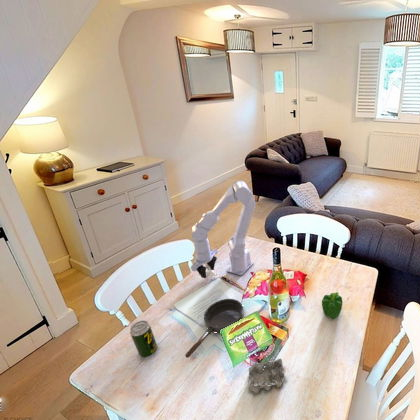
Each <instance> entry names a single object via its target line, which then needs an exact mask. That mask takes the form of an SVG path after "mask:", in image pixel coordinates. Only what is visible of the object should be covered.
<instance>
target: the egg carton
mask: <svg viewBox="0 0 420 420" xmlns="http://www.w3.org/2000/svg"><path fill="white" fill-rule="evenodd" d="M264 366H266V367H265V368H264ZM263 369H264V370H263ZM284 382H285V371H284V365H283V360H282V358H278V359H275V360H268V361H263V362H259V363H258V362H257V363H254V364H252V365H251V366H250V367H249V368H248V384H249V388H250V389H249V390H250V391H251V392H254V394H258V393H259V392H260V390H262V389H265V390H266V391H269V390H271V387H272V386H276V387H277V388H281V387H282V385H283V384H284Z"/></svg>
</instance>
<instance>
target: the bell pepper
mask: <svg viewBox="0 0 420 420" xmlns="http://www.w3.org/2000/svg"><path fill="white" fill-rule="evenodd" d="M321 309H322V311H323V315H324V316H325V317H328V318H329V319H330V320H335V319H337V318H338V317H339V316H340V313H341V311H342V309H343V297H342V296H341V295H339V292H338V291H336V292H332V293H330V294H324V296H323V297H322V300H321Z"/></svg>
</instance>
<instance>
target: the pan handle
mask: <svg viewBox="0 0 420 420" xmlns="http://www.w3.org/2000/svg"><path fill="white" fill-rule="evenodd" d="M212 332H213V328H211V327H209V328H208V329H206V330H205V332H203V334H202V335H201V337H199V339H198V340H197V341H196V342H195V343H194V344H193V345H192V346H191V347H190V349H188V351H187V352H186V353H185V355H184V356H185V358H186V359H188V358H191V356H193V354H194V353H195V352H196V350H197V349H198V348H199V347H200V346H201V345H202V344H203V342H204V341H205V340H206V339H207V338H208V337H209V336H210V335H211V334H212Z"/></svg>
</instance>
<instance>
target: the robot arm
mask: <svg viewBox="0 0 420 420" xmlns="http://www.w3.org/2000/svg"><path fill="white" fill-rule="evenodd" d="M238 201H239V202H241V203H242V207H241V210H240V214H239V217H238V220H237V224H236V228H235V231H234V233H233V234H232V236H231V238H229V240H228V242H227V245H228V247H229V253H228V255H229V263H230V267H229V269H227V272H228V273H231V274H235V275H238V276H242V275H244V273H246V272H247V270H249V269H250V267H252V265H253V262H252V261H251V260H252V259H251V253H250V251H249V249H247V248H246V237H247V234H248V230H249V227H250V224H251V221H252V217H253V214H254V211H255V208H256V204H257V203H256V200H255V197H254V194H253V192H252V191H251V189H250V187H249V186H248V184H247V183H246V182H245V181H243V180H241V179H240V180H239V179H238V180H235V181H234V182H232V185H230V186H229V187H228V188H227V190H226V192H225V193H224V194H223V195H222V197H221V198H220V199H219V201H218V202H217V204H216V205H215V206H214V208H212V210H209V211H206V213H203V214H202V217H201V219H199V221H198V222H196V223H195V224H194V225H193V226H192V228H191V236H192V237H191V238H192V239H193V244H194V248H195V253H196V254H195V255H196V258H195V259H196V260H195V261H194V262H193V264H192V265H191V266H190V270H191V271H193V272H197V273H199V274H200V275H199V276H200V278H202V279H207V277H206V276H207V274H206V272H207V268H206V266H204V265H205V263H207V264H208V265H209V266H210V268H211V270H213V271H214V272H215V265H216V262H217V260H218V257H217V256H215V255H218V253H219V252H218V249H215V248H212V250H211V247H210V242H209V239H208V236H209V235H208V233H210V231H211V230H212V229H213V228H214V226H215V225H216V224H217V223H218V221H219V220H220V217H219V216H220V215H221V214H222V213H223V212H224V211H225V209H227V207H228V206H229V205H230V204H236V203H239V202H238ZM208 271H210V270H208Z"/></svg>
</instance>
